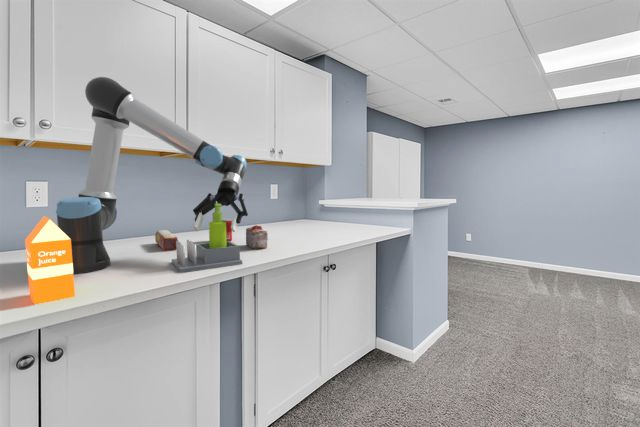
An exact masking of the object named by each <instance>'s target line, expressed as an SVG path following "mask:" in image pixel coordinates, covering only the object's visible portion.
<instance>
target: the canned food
mask: <svg viewBox="0 0 640 427" xmlns="http://www.w3.org/2000/svg"><path fill="white" fill-rule="evenodd" d="M222 222H226V241H230V242H232V241H233V231H232V229H231V225H232V222H233V220H232V218H230V217H229V218H228V217H226V218H225V217H222Z"/></svg>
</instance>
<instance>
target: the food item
mask: <svg viewBox="0 0 640 427" xmlns="http://www.w3.org/2000/svg"><path fill="white" fill-rule="evenodd" d="M268 238H269V237H268V231H267V230H264V229H263V227H262V225H257V224H256V225H253V226H250V227H247V228H246V229H245V245H246V246H248V248H250V249H253V250H264V249H265V250H266V249H267V248H268V240H269V239H268Z"/></svg>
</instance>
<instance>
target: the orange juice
mask: <svg viewBox="0 0 640 427" xmlns="http://www.w3.org/2000/svg"><path fill="white" fill-rule="evenodd" d="M24 242H25V254H26V268H27V276H28V277H27V278H28V290H29V291H28V292H29V297H30V299H31V301H32V300H33V301H32V303H33V304H34V305H35V304H38V305H40V304H39V303H43V304H45V303H44V302H47V303H51V302H50V301H52V302H56V301H55V300H57V301H61V300H60V299H62V300H65V299H64V298H66V299H70V297H71V298H75V297H76V296H75V294H76V293H75V280H74V279H75V278H74V274H73V263H72V248H71V239H70V238H69V237H68V236H67V235H66V234H65V233H64V232H63V231H62V230H61V229H60V228H59V227H58V224H57V223H55V222H54V221H52V219H50V218H49V217H47V216H44V215H43V217H42V218H41V219H40V220H39V222H38V223H37V224H36V225H35V227H34V228H33V229H32V231H31V232H30V233H29V234H28V235H27V237H26V238H25V239H24ZM74 296H75V297H74Z"/></svg>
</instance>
